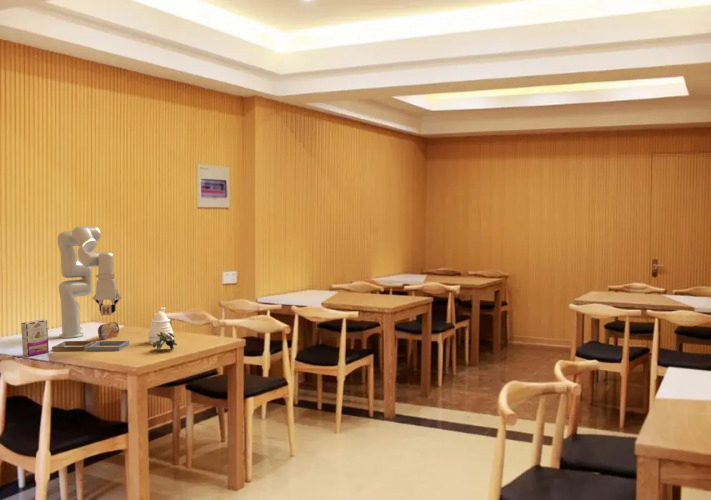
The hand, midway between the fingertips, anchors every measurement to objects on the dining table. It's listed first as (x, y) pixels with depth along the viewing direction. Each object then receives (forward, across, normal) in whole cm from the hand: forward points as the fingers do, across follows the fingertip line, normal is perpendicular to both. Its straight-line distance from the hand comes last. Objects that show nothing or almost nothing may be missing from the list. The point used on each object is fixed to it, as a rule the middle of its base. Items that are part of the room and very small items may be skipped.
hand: (107, 312), depth 348 cm
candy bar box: (+19, -31, -14) cm, 39 cm away
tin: (+19, -10, +28) cm, 35 cm away
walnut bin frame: (+18, -18, +1) cm, 26 cm away
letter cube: (+1, 0, 0) cm, 1 cm away
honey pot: (+19, +23, +14) cm, 33 cm away
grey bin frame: (+18, 0, 0) cm, 18 cm away
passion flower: (+19, +30, -9) cm, 37 cm away
